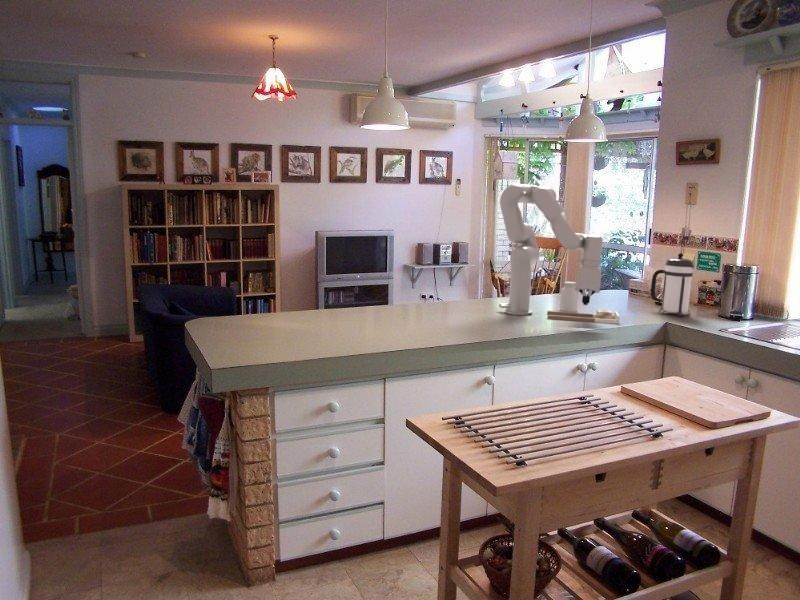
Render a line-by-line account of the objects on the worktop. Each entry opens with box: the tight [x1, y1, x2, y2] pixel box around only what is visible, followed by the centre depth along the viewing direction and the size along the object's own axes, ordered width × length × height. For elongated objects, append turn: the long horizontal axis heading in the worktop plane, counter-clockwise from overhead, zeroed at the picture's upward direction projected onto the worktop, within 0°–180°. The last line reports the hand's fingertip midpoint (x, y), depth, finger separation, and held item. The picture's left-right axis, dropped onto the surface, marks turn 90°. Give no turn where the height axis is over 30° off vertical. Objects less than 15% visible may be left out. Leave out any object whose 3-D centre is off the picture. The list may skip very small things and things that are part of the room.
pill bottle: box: [559, 281, 579, 313], centre depth 302 cm, size 8×8×15 cm
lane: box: [546, 310, 620, 325], centre depth 282 cm, size 30×12×5 cm, turn 78°
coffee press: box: [650, 252, 696, 318], centre depth 309 cm, size 17×16×30 cm
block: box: [595, 309, 614, 319], centre depth 281 cm, size 6×6×4 cm
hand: (585, 304), depth 282 cm, fingers closed
